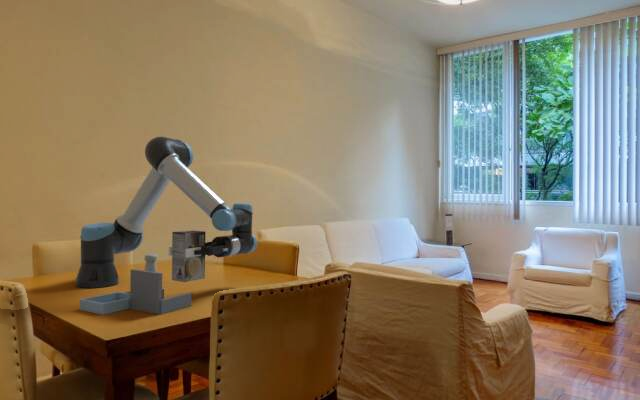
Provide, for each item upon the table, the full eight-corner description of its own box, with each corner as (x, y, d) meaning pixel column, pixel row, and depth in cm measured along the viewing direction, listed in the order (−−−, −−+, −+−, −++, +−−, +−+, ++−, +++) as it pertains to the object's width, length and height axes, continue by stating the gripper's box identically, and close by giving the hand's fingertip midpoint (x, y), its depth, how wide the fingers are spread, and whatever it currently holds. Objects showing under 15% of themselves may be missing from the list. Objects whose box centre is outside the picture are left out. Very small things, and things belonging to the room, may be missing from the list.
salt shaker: (161, 289, 172) (162, 254, 172) (147, 292, 168) (147, 255, 167) (154, 287, 176) (154, 253, 176) (139, 289, 172) (139, 254, 171)
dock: (129, 308, 143) (129, 269, 143) (161, 300, 154) (161, 264, 154) (159, 314, 136) (160, 273, 136) (191, 305, 147) (191, 268, 147)
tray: (79, 309, 141) (79, 299, 141) (118, 301, 153) (118, 291, 153) (103, 314, 136) (103, 304, 135) (141, 305, 147) (141, 295, 147)
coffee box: (192, 276, 161) (193, 230, 161) (205, 278, 158) (206, 231, 157) (170, 280, 153) (172, 231, 153) (184, 282, 150) (185, 232, 150)
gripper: (245, 258, 166) (199, 267, 146) (204, 254, 176) (156, 261, 156) (246, 237, 166) (200, 243, 146) (205, 234, 176) (156, 238, 156)
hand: (177, 252), depth 151 cm, fingers closed on coffee box, 7 cm apart
